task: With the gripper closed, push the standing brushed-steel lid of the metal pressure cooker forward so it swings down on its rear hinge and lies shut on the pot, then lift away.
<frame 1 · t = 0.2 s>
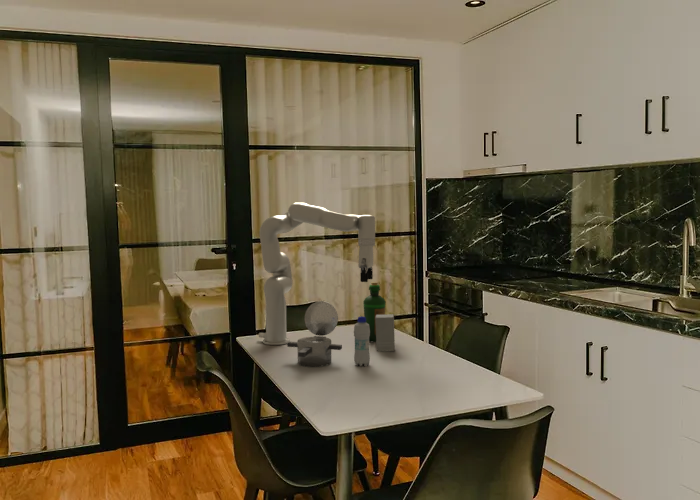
hand: (366, 280, 275), 31 cm above the table, fingers open, 9 cm apart
skincare box: (385, 350, 273), on the table
bottle: (361, 365, 248), on the table
bottle 2: (374, 340, 293), on the table
lid: (321, 318, 261), point 17 cm above the table, hinge at 100.0°
cooker: (314, 362, 253), on the table
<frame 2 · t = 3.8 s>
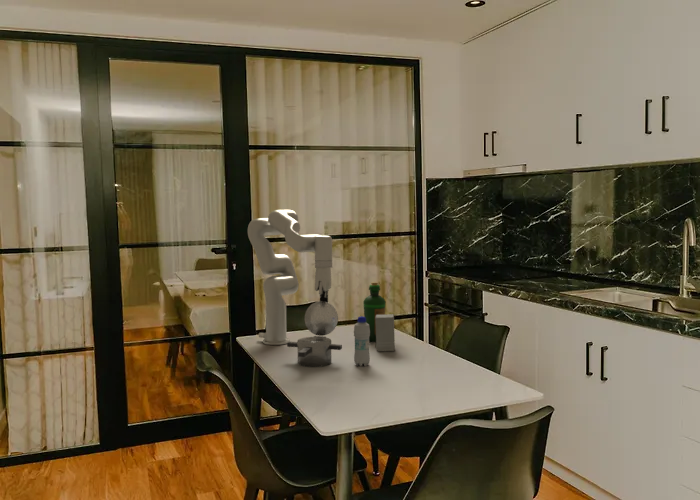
hand: (324, 306, 264), 21 cm above the table, fingers closed
lid: (321, 318, 261), point 17 cm above the table, hinge at 99.9°, touching gripper
everything else where it was.
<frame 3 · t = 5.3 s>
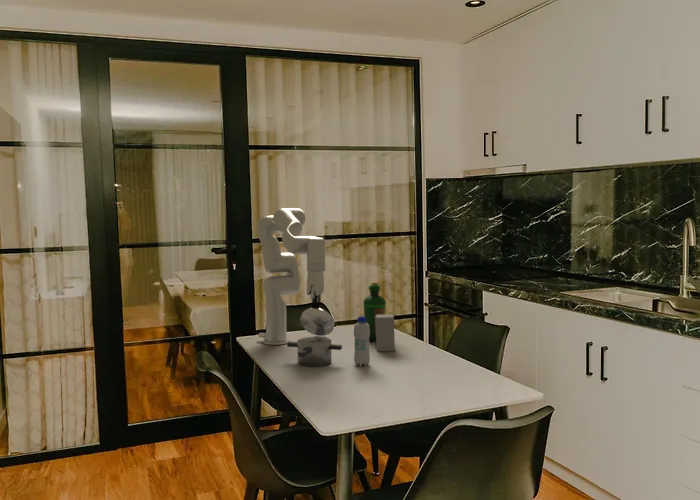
hand: (316, 311, 254), 21 cm above the table, fingers closed
lid: (318, 320, 256), point 17 cm above the table, hinge at 59.5°, touching gripper
everything else where it was.
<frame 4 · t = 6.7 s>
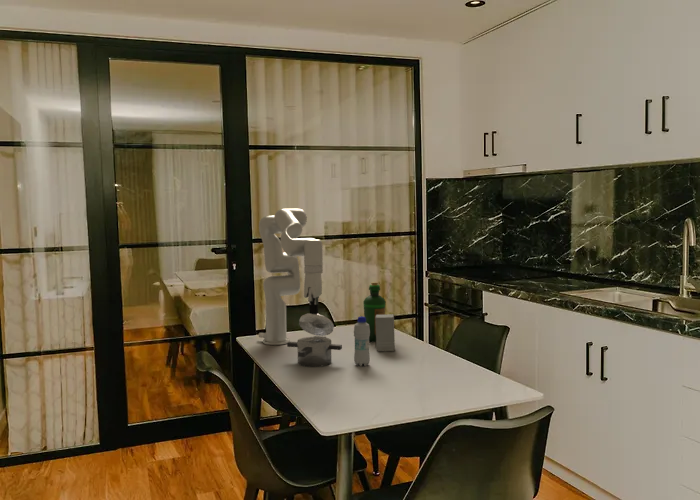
hand: (313, 313, 250), 20 cm above the table, fingers closed
lid: (316, 322, 255), point 16 cm above the table, hinge at 46.5°, touching gripper
everything else where it was.
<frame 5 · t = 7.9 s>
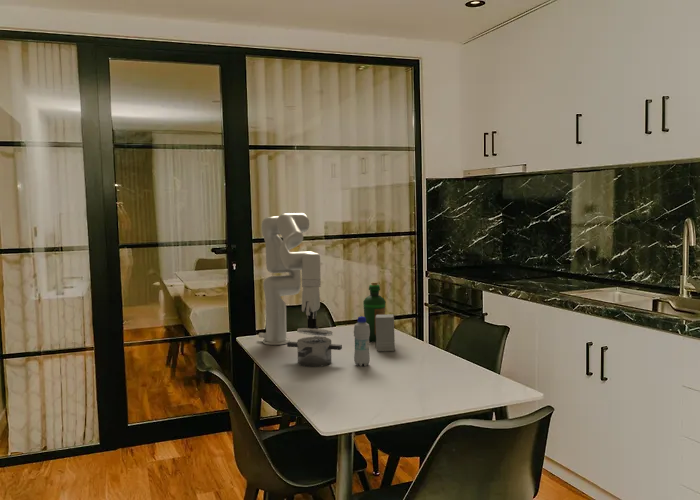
hand: (312, 328, 248), 15 cm above the table, fingers closed
lid: (315, 329, 253), point 14 cm above the table, hinge at 20.3°, touching gripper
everything else where it was.
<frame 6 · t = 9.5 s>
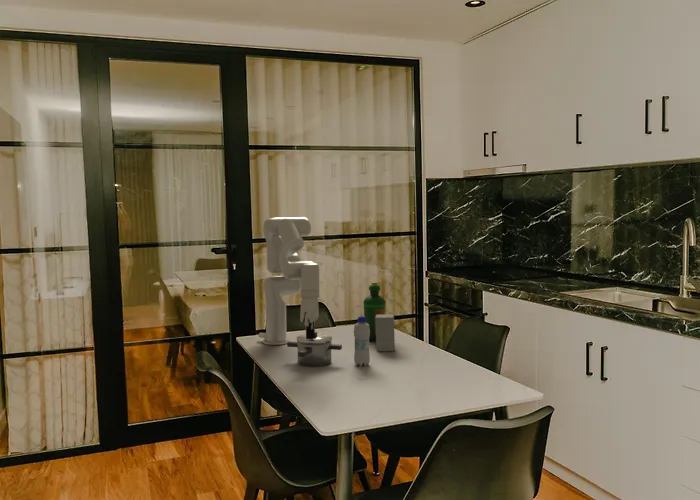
hand: (310, 338, 247), 11 cm above the table, fingers closed
lid: (314, 336, 252), point 11 cm above the table, hinge at -0.1°
everything else where it was.
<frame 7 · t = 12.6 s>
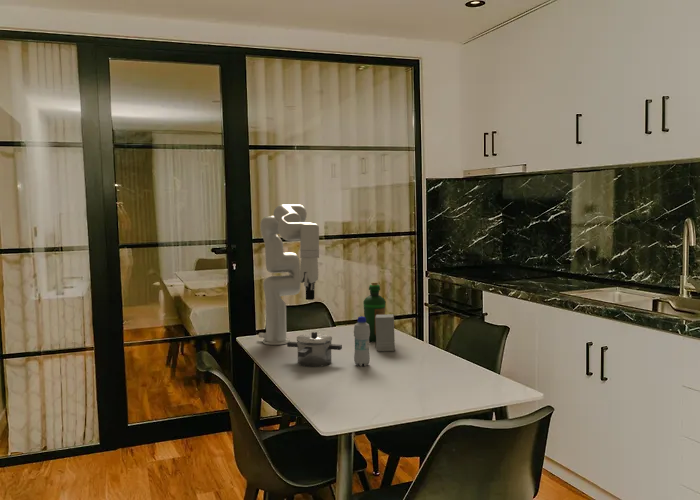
hand: (310, 299, 246), 27 cm above the table, fingers closed
nothing on the table moved.
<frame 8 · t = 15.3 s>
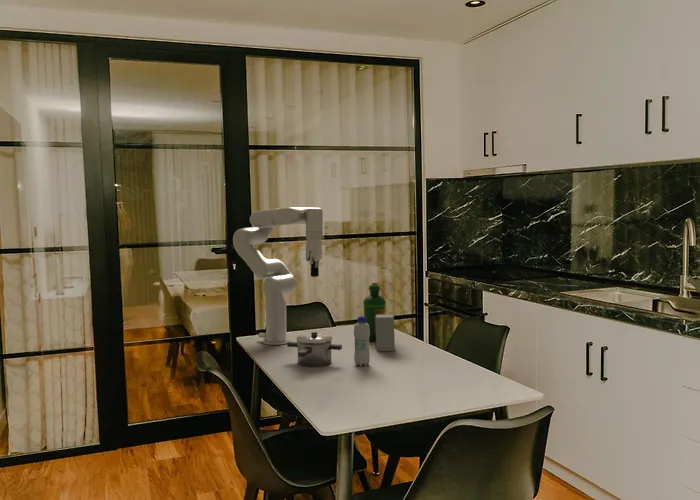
hand: (314, 276, 273), 33 cm above the table, fingers closed
nothing on the table moved.
at the end: lid at +0° (first picture: +100°) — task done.
